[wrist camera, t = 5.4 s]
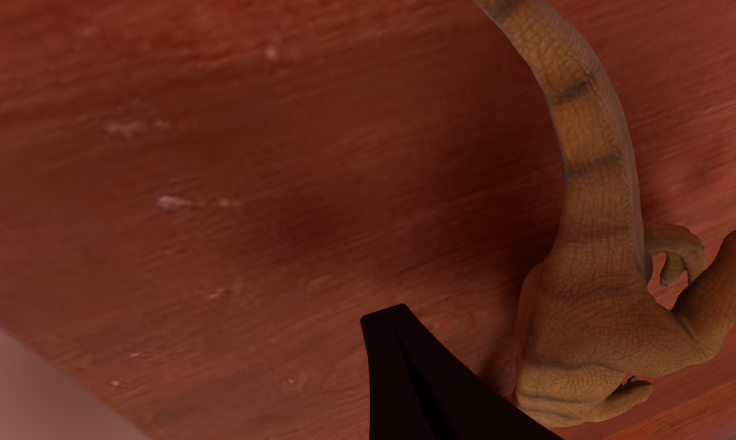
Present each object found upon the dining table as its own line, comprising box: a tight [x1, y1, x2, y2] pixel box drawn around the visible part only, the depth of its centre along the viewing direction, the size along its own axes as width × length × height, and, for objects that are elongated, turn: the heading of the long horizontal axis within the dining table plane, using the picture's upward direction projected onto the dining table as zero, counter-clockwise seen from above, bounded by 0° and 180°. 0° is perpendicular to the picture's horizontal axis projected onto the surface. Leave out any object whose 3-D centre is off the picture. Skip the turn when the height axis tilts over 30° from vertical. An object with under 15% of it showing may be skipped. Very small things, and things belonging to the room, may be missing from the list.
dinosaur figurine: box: [472, 0, 736, 430], centre depth 11 cm, size 7×22×12 cm
